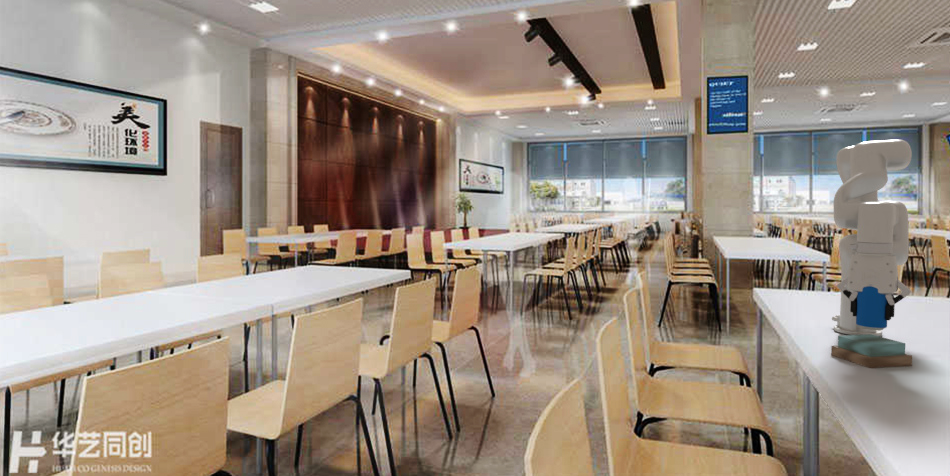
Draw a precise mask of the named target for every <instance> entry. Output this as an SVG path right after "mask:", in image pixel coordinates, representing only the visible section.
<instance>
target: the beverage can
mask: <svg viewBox="0 0 950 476" xmlns="http://www.w3.org/2000/svg"><path fill="white" fill-rule="evenodd" d="M869 285H870V284H869ZM871 285H873V284H871ZM885 296H886V294H880V293H878V289H877V288H875V287H872V286H867V287H864V288H863V290H862V292H858V295H857V315H856V324H857V325H858V326H859V327H860V328H863V329H868V330H881V331H883V330H884V329H886V328H887V327H888V320H886V319H885V317H886V305H887V304H888V301H887V299H886V297H885Z"/></svg>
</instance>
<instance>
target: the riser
mask: <svg viewBox="0 0 950 476" xmlns="http://www.w3.org/2000/svg"><path fill="white" fill-rule="evenodd" d="M830 350H831V353H830V355H831V356H833V357H836V358H839V359H842V360H846V361H847V362H852V363H854V364H857V365H860V366H864V367H867V368H869V369H876V368H890V367H891V368H893V367H907V366H908V367H909V366H912V365H913V355H910V354H907V353H906V343H905V342H902V341H897V340H893V339H890V338H887V337H882V336H875V335H872V334H864V335H848V334H844V335H838V336H837V345H831V349H830Z"/></svg>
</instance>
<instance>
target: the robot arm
mask: <svg viewBox="0 0 950 476" xmlns="http://www.w3.org/2000/svg"><path fill="white" fill-rule="evenodd" d="M912 156H913V153H912V148H911V145H910V143H909V142H908V141H906V140H903V139H885V140H884V139H883V140H882V139H881V140H868V141H862V142H859V143H856V144H855V145H851V146H846V147H843V148H841V149H840V150H838V152H837V154H836V166H837V167H836V168H837V172H838V175H839V177H840V180H841V183H842V184H841V186H839V188H838V189H837V191H836V192H835V194H834V199H833V219H834V220H833V221H834V223H835V225H836V226H837V227H839V228H840V229H847V230H852V231H856V233H852V234H847V235H845V236H843V237H842V238H840V241H839V244H838V249H839V251H838V252H839V257H840V267H841V268H840V270H841V272H840V273H841V275H840V276H841V279H840V282H839V283H838V284H837V285H836V287H837V288H838V289H839V291H840V307H839V308H840V309H839V310H840V311H839V314H835V316H832V318H831V320H832V321H834V322H837V323H836V325H834V326H833V330H834V332H837V333H840V334H844V335H864V334H872V335H875V336H879V337H882V336H883V330H868V329H863V328H860V327H859V326H858V325H857V324H856V315H857V295H858V292H862V290H863V288H864V287H867V286H872V287H875V288H877V289H878V293H880V294H886V296H885V297H886V299H887V301H888V304H887V305H886V317H885V319H886V320H887V321H890V320H892V318H894V317H895V305H896V304H897V303H898V302H900V301H902V300H903V299H905V298H906V297H907V296H909V295H910V294H912V290H911V289H910V288H909V287H908V286H906V285H905V284H904V283H903V282H902V281H900V280H899V271H898V270H899V269H898V266H902V265H904V264H905V263H907V261H908V258H909V255H910V251H909V249H910V244H909V243H910V242H909V239H910V238H909V236H910V235H909V211H908V208H907V206H906V205H905V204H904V203H903V202H901V201H897V200H879V198H878V191H880V190H882V189H883V188H884V187H885V186H886V185H887V183H888V178H889V176H888V172H894V171H896V172H897V171H901V170H904V169H906V168H907V167H908V166H909V165H910V163H911V162H912V161H911V160H912ZM869 284H870V285H869ZM871 284H873V285H871ZM898 289H900V290H901V293H899V294H898V295H896V296H894V293H896V292H898Z"/></svg>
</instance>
